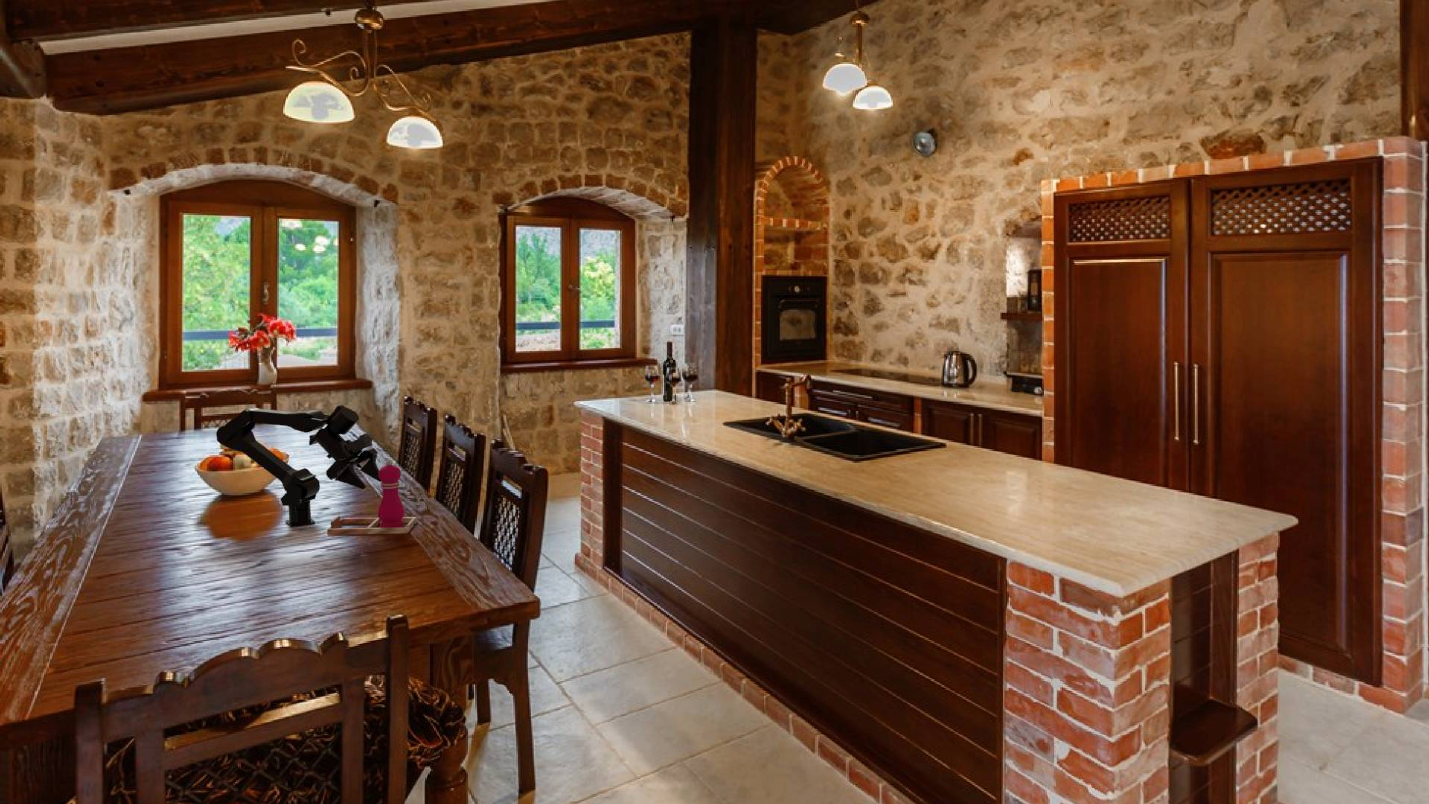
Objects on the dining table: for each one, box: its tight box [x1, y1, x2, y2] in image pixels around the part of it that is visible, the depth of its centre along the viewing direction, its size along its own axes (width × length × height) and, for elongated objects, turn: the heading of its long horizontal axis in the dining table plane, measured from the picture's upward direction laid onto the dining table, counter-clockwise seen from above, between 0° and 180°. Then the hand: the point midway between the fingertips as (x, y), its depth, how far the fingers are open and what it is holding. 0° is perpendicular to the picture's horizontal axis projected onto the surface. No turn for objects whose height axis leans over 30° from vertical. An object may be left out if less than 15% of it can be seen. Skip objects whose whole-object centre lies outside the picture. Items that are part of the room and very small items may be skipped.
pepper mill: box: [377, 459, 406, 528], centre depth 233 cm, size 7×7×20 cm
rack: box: [326, 515, 418, 536], centre depth 234 cm, size 21×11×3 cm, turn 96°
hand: (373, 484), depth 233 cm, fingers open, 9 cm apart
